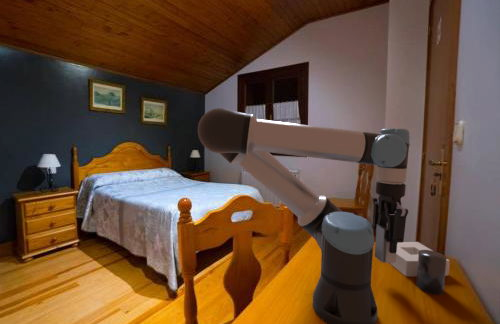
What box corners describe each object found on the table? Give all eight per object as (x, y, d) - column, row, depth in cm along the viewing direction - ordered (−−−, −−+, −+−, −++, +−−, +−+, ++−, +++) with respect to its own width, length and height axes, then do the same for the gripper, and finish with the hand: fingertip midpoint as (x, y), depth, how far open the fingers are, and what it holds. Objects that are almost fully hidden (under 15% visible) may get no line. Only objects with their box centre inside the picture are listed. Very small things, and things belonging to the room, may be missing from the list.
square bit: (382, 262, 72) (384, 229, 71) (374, 256, 76) (376, 224, 75) (395, 262, 72) (397, 229, 71) (387, 256, 76) (389, 224, 75)
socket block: (405, 276, 77) (406, 261, 77) (380, 255, 91) (380, 242, 91) (448, 275, 78) (449, 260, 77) (416, 254, 92) (417, 241, 91)
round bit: (427, 295, 68) (430, 260, 67) (411, 281, 74) (413, 249, 74) (449, 294, 68) (452, 260, 67) (431, 281, 75) (434, 249, 74)
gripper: (425, 187, 64) (417, 273, 66) (385, 177, 81) (380, 246, 83) (397, 187, 63) (390, 273, 66) (363, 177, 80) (359, 246, 83)
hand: (385, 258), depth 74 cm, fingers closed on square bit, 4 cm apart
